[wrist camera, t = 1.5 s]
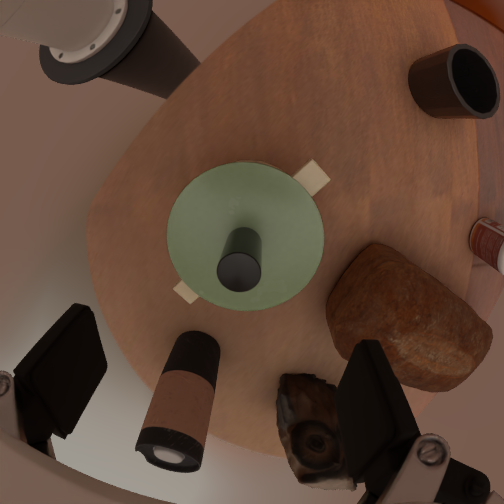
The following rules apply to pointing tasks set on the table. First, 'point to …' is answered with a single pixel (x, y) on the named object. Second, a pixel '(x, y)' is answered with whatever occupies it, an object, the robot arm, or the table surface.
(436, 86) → the cup
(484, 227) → the pill bottle
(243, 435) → the table surface
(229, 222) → the lid
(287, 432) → the owl
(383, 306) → the bread
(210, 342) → the travel mug
